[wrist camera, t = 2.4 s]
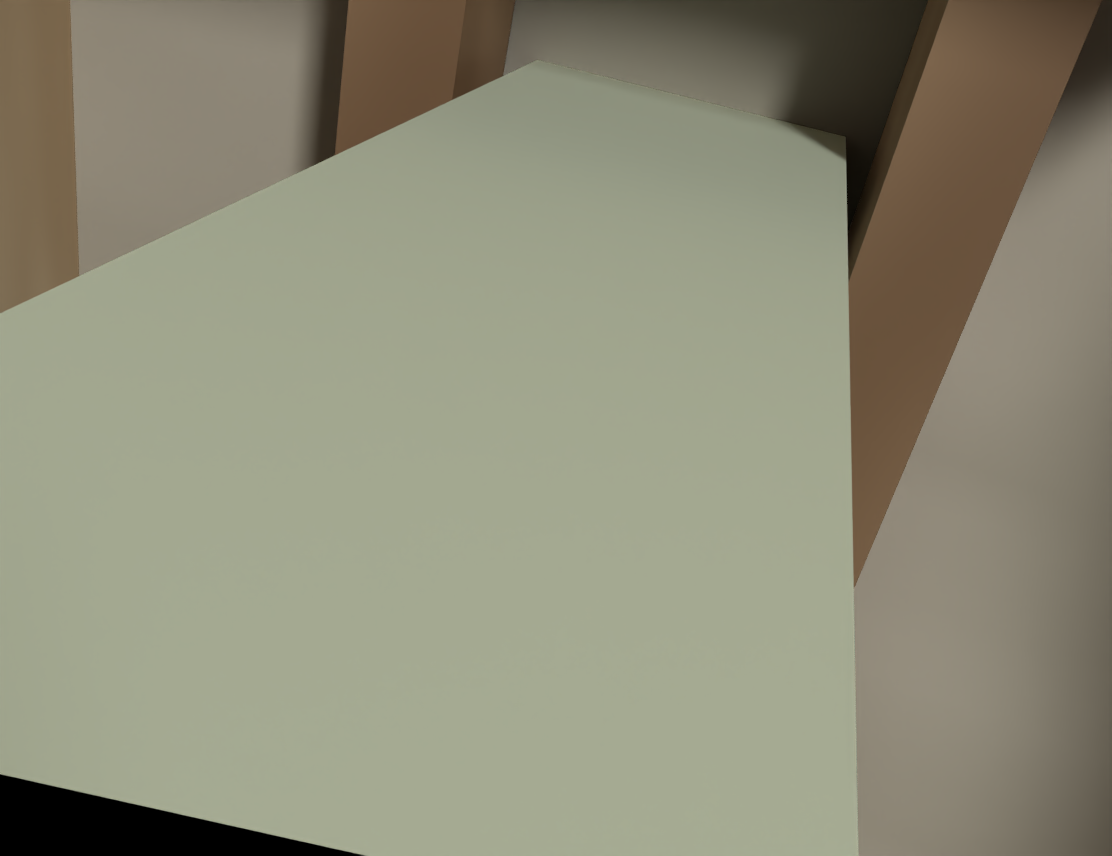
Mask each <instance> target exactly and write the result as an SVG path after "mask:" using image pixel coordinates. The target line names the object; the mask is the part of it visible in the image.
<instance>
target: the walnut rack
mask: <svg viewBox="0 0 1112 856" xmlns="http://www.w3.org/2000/svg"><path fill="white" fill-rule="evenodd" d="M1101 1H1102V0H928V3H927V6H926V8H925V11H924V14H923V17H922V20H921V23H920V26H919V29H918V32H917V35H916V37H915V40H914V43H913V46H912V49H911V52H910V55H909V58H908V61H907V64H906V66H905V69H904V72H903V75H902V78H901V81H900V84H899V87H898V90H897V92H896V95H895V98H894V101H893V104H892V107H891V110H890V113H889V116H888V119H887V121H886V124H885V127H884V130H883V133H882V136H881V139H880V142H879V145H878V148H877V150H876V153H875V156H874V159H873V162H872V165H871V168H870V171H869V174H868V176H867V179H866V182H865V185H864V188H863V191H862V194H861V197H860V200H859V203H858V205H857V208H856V211H855V214H854V217H853V220H852V223H851V226H850V229H849V232H848V234H847V236H848V293H849V350H850V407H851V463H852V520H853V577H854V587H855V585H856V582H857V580H858V578H859V575H860V573H861V570H862V568H863V566H864V563H865V561H866V559H867V556H868V554H869V551H870V549H871V547H872V544H873V542H874V540H875V537H876V535H877V533H878V530H879V528H880V525H881V523H882V521H883V518H884V516H885V514H886V511H887V509H888V506H889V504H890V502H891V499H892V497H893V495H894V492H895V490H896V487H897V485H898V483H899V480H900V478H901V476H902V473H903V471H904V469H905V466H906V464H907V461H908V459H909V457H910V454H911V452H912V450H913V447H914V445H915V442H916V440H917V438H918V435H919V433H920V431H921V428H922V426H923V423H924V421H925V419H926V416H927V414H928V412H929V409H930V407H931V404H932V402H933V400H934V397H935V395H936V393H937V390H938V388H939V386H940V383H941V381H942V378H943V376H944V374H945V371H946V369H947V367H948V364H949V362H950V359H951V357H952V355H953V352H954V350H955V348H956V345H957V343H958V340H959V338H960V336H961V333H962V331H963V329H964V326H965V324H966V322H967V319H968V317H969V314H970V312H971V310H972V307H973V305H974V303H975V300H976V298H977V295H978V293H979V291H980V288H981V286H982V284H983V281H984V279H985V276H986V274H987V272H988V269H989V267H990V265H991V262H992V260H993V257H994V255H995V253H996V250H997V248H998V246H999V243H1000V241H1001V239H1002V236H1003V234H1004V231H1005V229H1006V227H1007V224H1008V222H1009V220H1010V217H1011V215H1012V212H1013V210H1014V208H1015V205H1016V203H1017V201H1018V198H1019V196H1020V193H1021V191H1022V189H1023V186H1024V184H1025V182H1026V179H1027V177H1028V175H1029V172H1030V170H1031V167H1032V165H1033V163H1034V160H1035V158H1036V156H1037V153H1038V151H1039V148H1040V146H1041V144H1042V141H1043V139H1044V137H1045V134H1046V132H1047V129H1048V127H1049V125H1050V122H1051V120H1052V118H1053V115H1054V113H1055V110H1056V108H1057V106H1058V103H1059V101H1060V99H1061V96H1062V94H1063V92H1064V89H1065V87H1066V84H1067V82H1068V80H1069V77H1070V75H1071V73H1072V70H1073V68H1074V65H1075V63H1076V61H1077V58H1078V56H1079V54H1080V51H1081V49H1082V46H1083V44H1084V42H1085V39H1086V37H1087V35H1088V32H1089V30H1090V28H1091V25H1092V23H1093V20H1094V18H1095V16H1096V13H1097V11H1098V9H1099V6H1100V4H1101ZM514 4H515V0H349V2H348V13H347V24H346V35H345V46H344V57H343V69H342V80H341V91H340V102H339V113H338V124H337V136H336V147H335V155H337V154H339V153H341V152H343V151H345V150H347V149H350V148H352V147H354V146H356V145H358V144H360V143H362V142H364V141H367V140H369V139H371V138H373V137H375V136H377V135H379V134H381V133H384V132H386V131H388V130H390V129H392V128H394V127H396V126H398V125H400V124H403V123H405V122H407V121H409V120H411V119H413V118H415V117H417V116H420V115H422V114H424V113H426V112H428V111H430V110H432V109H434V108H436V107H439V106H441V105H443V104H445V103H447V102H449V101H451V100H453V99H456V98H458V97H460V96H462V95H464V94H466V93H468V92H470V91H473V90H475V89H477V88H479V87H481V86H483V85H485V84H487V83H489V82H492V81H494V80H496V79H498V78H500V77H502V76H503V72H504V66H505V60H506V54H507V47H508V41H509V35H510V29H511V23H512V17H513V11H514Z"/></svg>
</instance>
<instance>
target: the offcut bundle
mask: <svg viewBox="0 0 1112 856" xmlns="http://www.w3.org/2000/svg"><path fill="white" fill-rule="evenodd" d="M78 276H79V256H78V226H77V196H76V166H75V136H74V106H73V76H72V46H71V16H70V0H0V313H2V312H4V311H6V310H8V309H11V308H13V307H15V306H17V305H19V304H21V303H23V302H25V301H28V300H30V299H32V298H34V297H36V296H38V295H40V294H42V293H44V292H47V291H49V290H51V289H53V288H55V287H57V286H59V285H61V284H64V283H66V282H68V281H70V280H72V279H74V278H76V277H78Z"/></svg>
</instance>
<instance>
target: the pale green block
mask: <svg viewBox="0 0 1112 856" xmlns="http://www.w3.org/2000/svg"><path fill="white" fill-rule="evenodd" d="M0 856H858V805H857V748H856V691H855V634H854V577H853V520H852V463H851V407H850V350H849V293H848V236H847V179H846V137H845V136H841V135H837V134H833V133H829V132H825V131H821V130H817V129H813V128H809V127H805V126H801V125H797V124H793V123H789V122H785V121H781V120H777V119H773V118H769V117H765V116H761V115H757V114H753V113H749V112H745V111H741V110H737V109H733V108H729V107H725V106H721V105H717V104H713V103H709V102H705V101H701V100H697V99H693V98H689V97H685V96H681V95H677V94H673V93H669V92H665V91H661V90H657V89H653V88H649V87H645V86H641V85H637V84H632V83H628V82H624V81H620V80H616V79H612V78H608V77H604V76H600V75H596V74H592V73H588V72H584V71H580V70H576V69H572V68H568V67H564V66H560V65H556V64H552V63H548V62H544V61H540V60H536V61H534V62H532V63H530V64H528V65H525V66H523V67H521V68H519V69H517V70H515V71H513V72H511V73H509V74H506V75H504V76H502V77H500V78H498V79H496V80H494V81H492V82H489V83H487V84H485V85H483V86H481V87H479V88H477V89H475V90H473V91H470V92H468V93H466V94H464V95H462V96H460V97H458V98H456V99H453V100H451V101H449V102H447V103H445V104H443V105H441V106H439V107H436V108H434V109H432V110H430V111H428V112H426V113H424V114H422V115H420V116H417V117H415V118H413V119H411V120H409V121H407V122H405V123H403V124H400V125H398V126H396V127H394V128H392V129H390V130H388V131H386V132H384V133H381V134H379V135H377V136H375V137H373V138H371V139H369V140H367V141H364V142H362V143H360V144H358V145H356V146H354V147H352V148H350V149H347V150H345V151H343V152H341V153H339V154H337V155H335V156H333V157H331V158H328V159H326V160H324V161H322V162H320V163H318V164H316V165H314V166H311V167H309V168H307V169H305V170H303V171H301V172H299V173H297V174H295V175H292V176H290V177H288V178H286V179H284V180H282V181H280V182H278V183H275V184H273V185H271V186H269V187H267V188H265V189H263V190H261V191H258V192H256V193H254V194H252V195H250V196H248V197H246V198H244V199H242V200H239V201H237V202H235V203H233V204H231V205H229V206H227V207H225V208H222V209H220V210H218V211H216V212H214V213H212V214H210V215H208V216H206V217H203V218H201V219H199V220H197V221H195V222H193V223H191V224H189V225H186V226H184V227H182V228H180V229H178V230H176V231H174V232H172V233H169V234H167V235H165V236H163V237H161V238H159V239H157V240H155V241H153V242H150V243H148V244H146V245H144V246H142V247H140V248H138V249H136V250H133V251H131V252H129V253H127V254H125V255H123V256H121V257H119V258H117V259H114V260H112V261H110V262H108V263H106V264H104V265H102V266H100V267H97V268H95V269H93V270H91V271H89V272H87V273H85V274H83V275H80V276H78V277H76V278H74V279H72V280H70V281H68V282H66V283H64V284H61V285H59V286H57V287H55V288H53V289H51V290H49V291H47V292H44V293H42V294H40V295H38V296H36V297H34V298H32V299H30V300H28V301H25V302H23V303H21V304H19V305H17V306H15V307H13V308H11V309H8V310H6V311H4V312H2V313H0Z"/></svg>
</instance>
